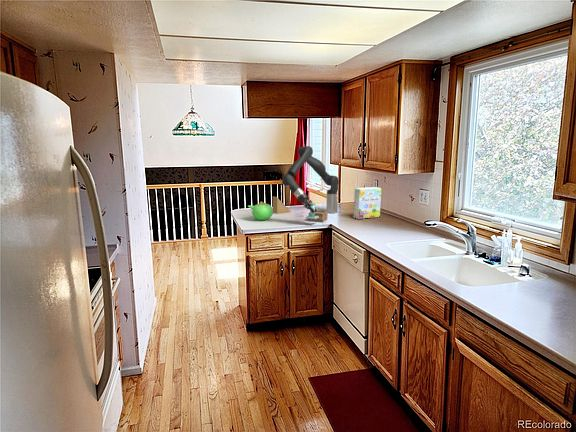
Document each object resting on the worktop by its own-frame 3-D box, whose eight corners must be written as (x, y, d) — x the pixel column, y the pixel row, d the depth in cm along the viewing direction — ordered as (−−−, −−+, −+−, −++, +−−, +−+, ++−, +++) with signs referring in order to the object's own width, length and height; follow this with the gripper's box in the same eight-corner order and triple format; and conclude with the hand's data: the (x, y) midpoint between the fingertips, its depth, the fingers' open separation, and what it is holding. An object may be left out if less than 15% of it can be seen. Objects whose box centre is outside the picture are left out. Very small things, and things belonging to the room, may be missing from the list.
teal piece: (309, 216, 314) (309, 202, 312) (318, 217, 311) (319, 202, 309) (305, 218, 307) (305, 203, 305) (315, 219, 304) (315, 204, 302)
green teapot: (261, 223, 316) (261, 204, 313) (247, 220, 327) (246, 202, 324) (277, 219, 330) (276, 201, 327) (262, 216, 340) (262, 199, 337)
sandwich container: (292, 212, 359) (292, 196, 356) (277, 214, 352) (277, 197, 349) (287, 210, 367) (287, 194, 364) (272, 212, 359) (272, 196, 356)
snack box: (358, 220, 326) (359, 189, 320) (352, 218, 333) (353, 187, 328) (380, 218, 333) (382, 187, 328) (374, 216, 341) (376, 186, 336)
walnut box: (313, 218, 333) (313, 210, 332) (327, 219, 328) (327, 211, 327) (308, 221, 323) (308, 212, 321) (322, 222, 318) (322, 213, 316)
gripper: (300, 193, 302) (315, 210, 299) (307, 191, 315) (321, 207, 312) (293, 199, 305) (308, 216, 303) (300, 197, 318) (314, 213, 315)
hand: (314, 211), depth 307 cm, fingers closed on teal piece, 3 cm apart
